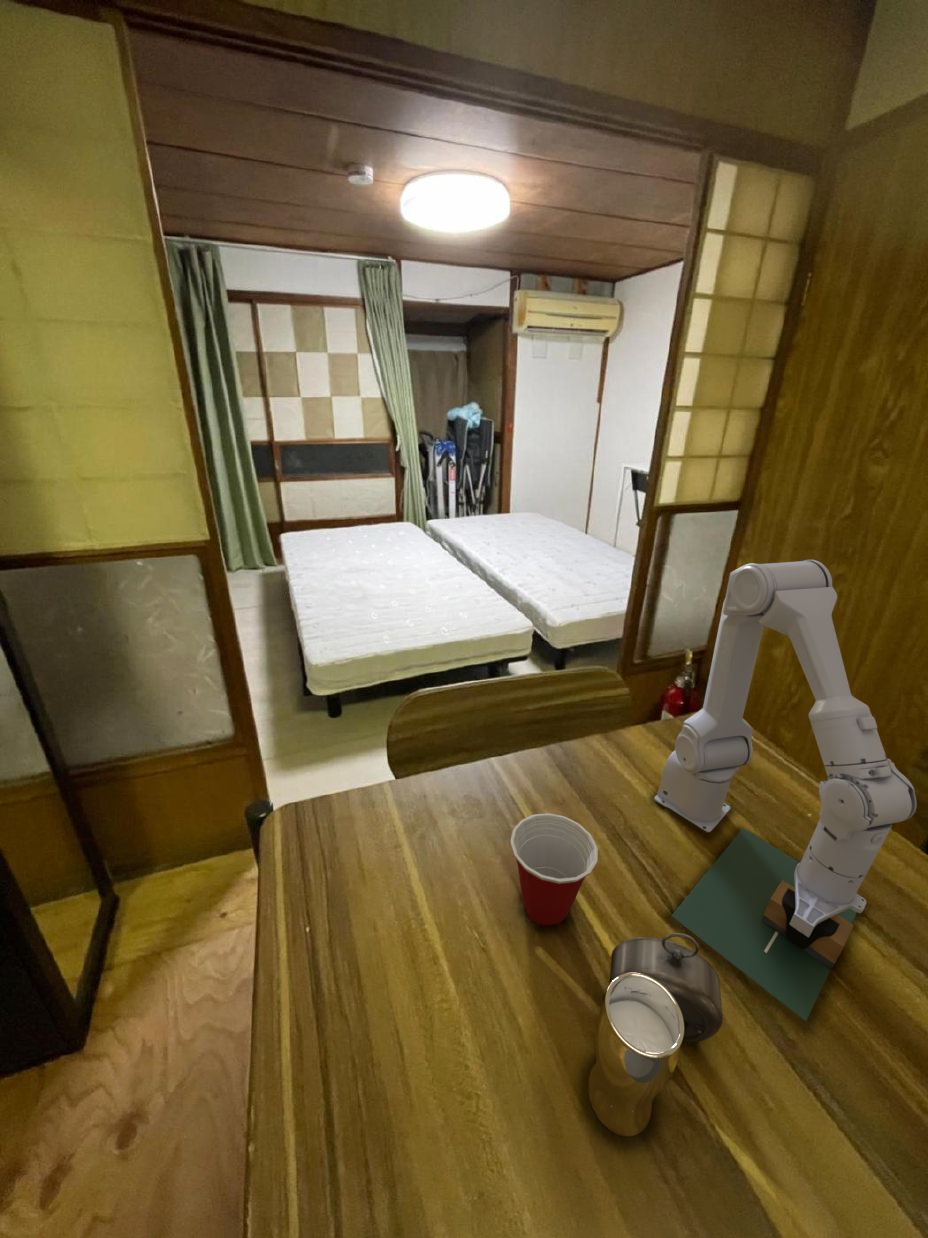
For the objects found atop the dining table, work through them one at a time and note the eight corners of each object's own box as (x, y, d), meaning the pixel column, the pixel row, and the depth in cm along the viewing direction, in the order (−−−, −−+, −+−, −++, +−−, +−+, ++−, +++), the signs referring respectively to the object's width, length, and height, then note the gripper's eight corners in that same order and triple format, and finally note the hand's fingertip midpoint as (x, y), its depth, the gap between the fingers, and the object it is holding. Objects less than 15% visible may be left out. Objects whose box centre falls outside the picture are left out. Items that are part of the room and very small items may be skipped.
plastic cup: (594, 888, 71) (606, 826, 66) (576, 960, 63) (587, 896, 57) (521, 859, 75) (526, 798, 70) (493, 923, 67) (497, 859, 61)
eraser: (761, 921, 67) (770, 898, 65) (773, 902, 69) (782, 880, 67) (831, 970, 61) (843, 947, 59) (841, 948, 64) (853, 925, 62)
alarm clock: (704, 1019, 57) (741, 927, 50) (708, 1076, 52) (749, 984, 45) (603, 983, 60) (625, 892, 53) (599, 1034, 56) (621, 942, 48)
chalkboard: (670, 919, 67) (671, 916, 67) (741, 830, 81) (742, 828, 80) (804, 1024, 57) (806, 1021, 56) (861, 903, 70) (863, 900, 70)
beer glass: (574, 1057, 54) (592, 972, 47) (639, 1051, 54) (665, 966, 48) (595, 1147, 48) (619, 1065, 41) (668, 1139, 48) (702, 1056, 41)
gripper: (861, 921, 52) (818, 998, 58) (895, 843, 61) (855, 917, 67) (785, 875, 57) (753, 950, 63) (828, 808, 65) (796, 880, 71)
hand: (801, 930), depth 65 cm, fingers closed on eraser, 4 cm apart
